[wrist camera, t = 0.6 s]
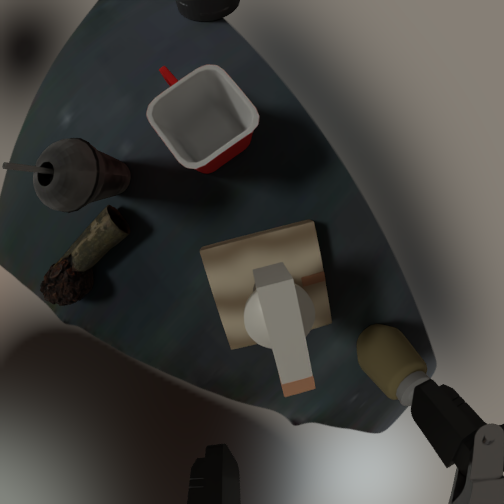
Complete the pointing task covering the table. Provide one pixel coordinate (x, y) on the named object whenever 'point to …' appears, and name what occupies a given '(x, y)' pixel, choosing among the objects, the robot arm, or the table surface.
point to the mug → (203, 118)
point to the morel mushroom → (84, 258)
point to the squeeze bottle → (391, 362)
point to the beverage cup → (75, 175)
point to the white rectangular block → (282, 324)
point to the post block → (260, 255)
